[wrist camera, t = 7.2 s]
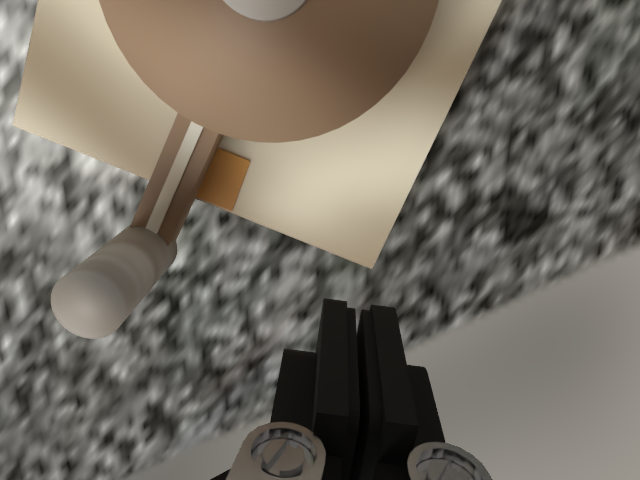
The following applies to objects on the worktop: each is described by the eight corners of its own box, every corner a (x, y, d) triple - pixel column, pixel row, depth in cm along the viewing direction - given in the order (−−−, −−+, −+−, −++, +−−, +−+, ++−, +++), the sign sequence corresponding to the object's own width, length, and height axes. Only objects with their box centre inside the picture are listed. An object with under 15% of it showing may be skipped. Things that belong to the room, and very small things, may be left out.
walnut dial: (187, -305, 14) (99, -519, 9) (500, -109, 15) (582, -196, 10) (18, 202, 19) (-102, 254, 14) (265, 320, 20) (239, 408, 15)
